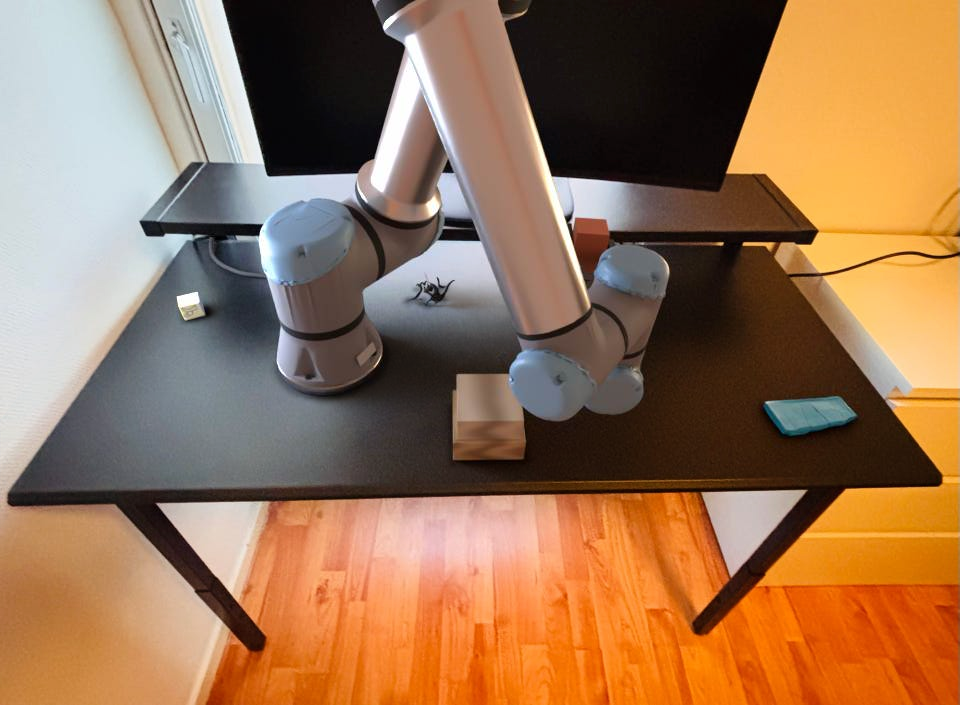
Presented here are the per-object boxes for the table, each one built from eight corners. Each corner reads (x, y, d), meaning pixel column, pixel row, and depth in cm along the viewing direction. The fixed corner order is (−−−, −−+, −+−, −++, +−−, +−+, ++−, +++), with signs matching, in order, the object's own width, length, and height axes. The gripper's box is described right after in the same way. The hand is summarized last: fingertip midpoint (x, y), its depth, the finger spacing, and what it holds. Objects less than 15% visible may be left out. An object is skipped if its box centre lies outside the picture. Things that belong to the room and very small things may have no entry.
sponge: (867, 428, 73) (843, 393, 76) (784, 433, 71) (765, 398, 75) (860, 434, 74) (837, 399, 78) (779, 439, 73) (760, 404, 76)
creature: (400, 301, 94) (423, 316, 88) (394, 273, 91) (418, 286, 85) (437, 287, 97) (462, 300, 91) (433, 259, 94) (458, 271, 89)
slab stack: (453, 460, 68) (453, 424, 63) (452, 407, 74) (452, 371, 69) (523, 459, 68) (528, 423, 63) (517, 406, 75) (521, 371, 70)
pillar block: (567, 286, 89) (577, 232, 82) (565, 269, 92) (575, 217, 86) (597, 288, 89) (609, 235, 82) (594, 271, 92) (606, 219, 86)
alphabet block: (205, 316, 87) (199, 301, 85) (184, 321, 86) (178, 306, 84) (203, 306, 89) (197, 291, 87) (183, 310, 88) (176, 295, 86)
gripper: (530, 333, 76) (529, 247, 93) (657, 342, 76) (633, 254, 93) (536, 290, 71) (534, 207, 88) (672, 299, 70) (643, 214, 88)
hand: (585, 231), depth 90 cm, fingers closed on pillar block, 5 cm apart
